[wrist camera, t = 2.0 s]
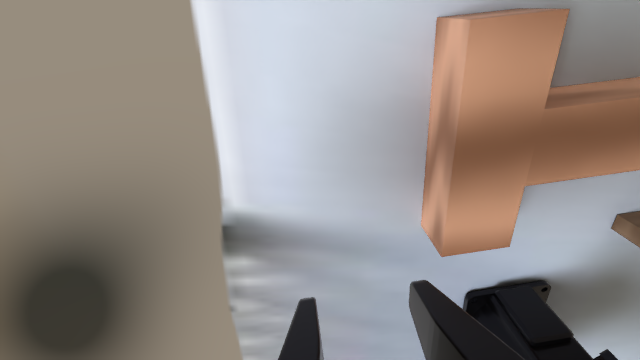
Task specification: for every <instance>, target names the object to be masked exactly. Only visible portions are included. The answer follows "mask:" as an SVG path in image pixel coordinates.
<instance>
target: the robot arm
mask: <svg viewBox="0 0 640 360" xmlns="http://www.w3.org/2000/svg"><path fill="white" fill-rule="evenodd" d="M550 289H551V286H550V285H549V284H548V283H547V282H546V281H539V282H532V283H526V284H520V285H514V286H507V287H501V288H495V289H488V290H482V291H476V292H471V293H468V294H467V295H466V296H465V300H464V305H463V309H462V308H460V307H459V306H458V305H457V304H455V303H454V302H453V301H452V300H451V299H449V298H448V297H447V296H446V295H444V294H443V293H442V292H441V291H439V290H438V289H437V288H436V287H434V286H433V285H432V284H431V283H429V282H428V281H426V280H420V281H413V282H411V284H410V294H409V307H410V312H411V315H412V318H413V321H414V324H415V327H416V330H417V334H418V337H419V340H420V343H421V346H422V349H423V352H424V355H425V358H426V360H618V359H617V358H616V357H615V356H614V355H613V354H612V353H611V352H610V351H609V350H608V349H607V350H605V351H603V352H601V353H599V354H600V356H598V357H596V358H594V359H593V358H592V357H591V356H590V355H589V354H588V353H587V352H586V350H585V349H584V348H583V347H582V346H581V345H580V344H579V343H578V341H577V340H576V339H575V338H574V337H573V333H572V331H571V330H570V329H569V328H568V327H567V326H566V325H565V324H564V323H563V321H562V320H561V319H560V318H559V317H558V316H557V315H556V314H555V313H554V311H553V310H552V309H551V308H550V307H549V306H548V305H547V304H546V300H547V298H548V295H549V292H550ZM278 360H324V357H323V350H322V342H321V334H320V327H319V319H318V312H317V305H316V299H315V298H314V297H311V298H304V299H301V300H300V301H299V303H298V306H297V309H296V311H295V314H294V317H293V320H292V322H291V325H290V328H289V331H288V334H287V336H286V339H285V342H284V345H283V347H282V350H281V353H280V356H279V358H278Z"/></svg>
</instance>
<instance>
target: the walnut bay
mask: <svg viewBox="0 0 640 360" xmlns="http://www.w3.org/2000/svg"><path fill="white" fill-rule="evenodd" d="M611 229H613V230H614V231H616V232H617V233H619V234H620V235H622V236H623V237H625V238H626V239H628V240H629V241H631V242H632V243H634V244H635V245H637V246H638V247H640V211H639V212H632V213H625V214H618V215H617V217H616V219H615V221H614V224H613V226H612V228H611Z"/></svg>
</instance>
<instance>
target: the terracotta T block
mask: <svg viewBox="0 0 640 360" xmlns="http://www.w3.org/2000/svg"><path fill="white" fill-rule="evenodd" d="M569 10H570V9H511V10H502V11H492V12H483V13H474V14H465V15H456V16H446V17H437V23H436V36H435V49H434V62H433V76H432V89H431V102H430V115H429V128H428V141H427V154H426V167H425V180H424V193H423V206H422V220H421V226H422V228H423V229H424V231H425V232H426V234H427V235H428V237H429V238H430V240H431V242H432V243H433V245H434V246H435V248H436V249H437V251H438V252H439V254H440V255H441V257H445V256H451V255H458V254H464V253H471V252H478V251H484V250H491V249H498V248H504V247H510V243H511V239H512V235H513V231H514V227H515V223H516V219H517V215H518V211H519V207H520V203H521V199H522V195H523V192H524V188H525V186H530V185H537V184H544V183H551V182H558V181H565V180H572V179H579V178H586V177H593V176H601V175H608V174H615V173H622V172H629V171H636V170H640V77H635V78H626V79H618V80H610V81H602V82H594V83H586V84H578V85H570V86H562V87H554V88H550V85H551V81H552V77H553V73H554V69H555V65H556V61H557V57H558V53H559V49H560V45H561V41H562V37H563V33H564V29H565V25H566V21H567V17H568V13H569Z"/></svg>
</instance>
